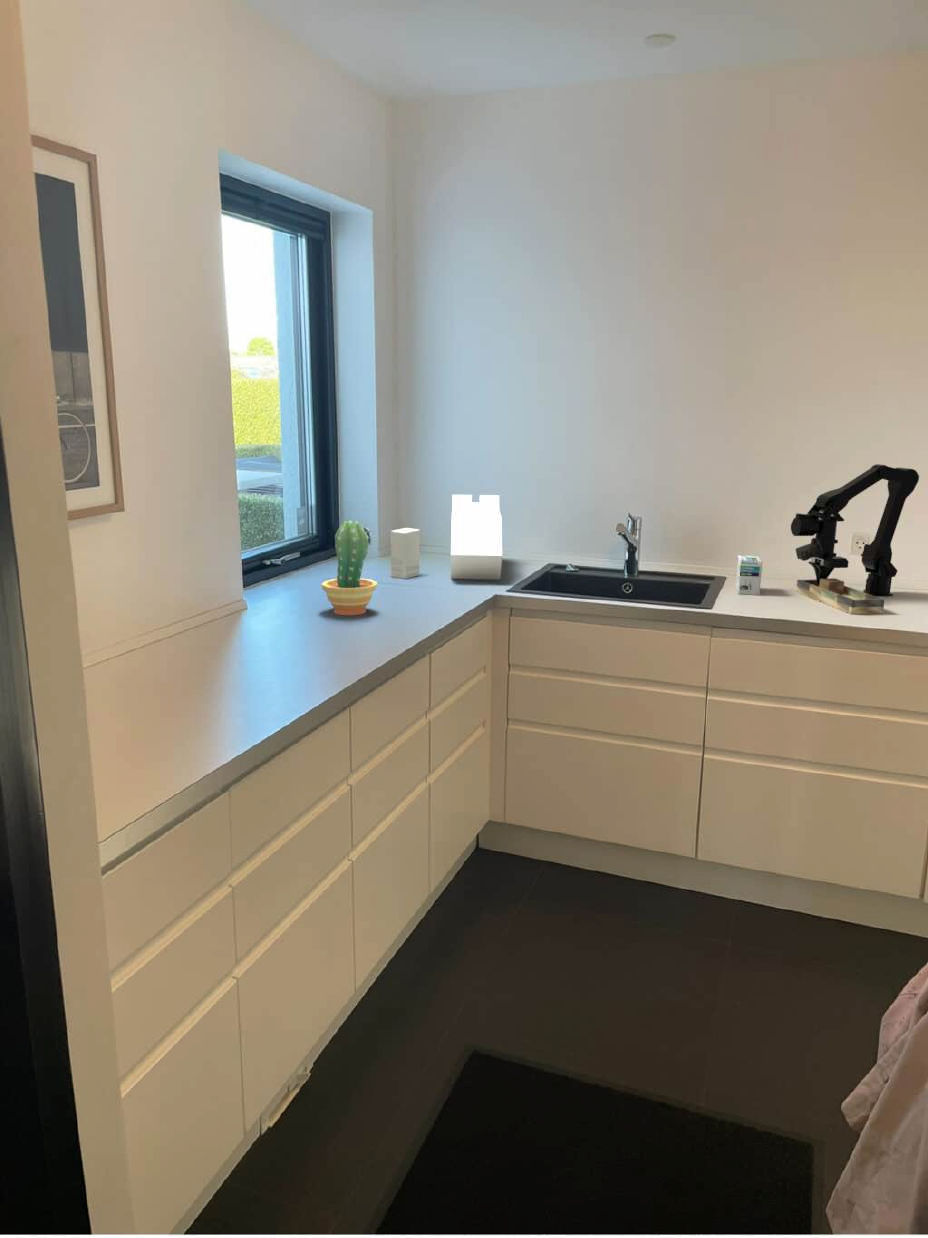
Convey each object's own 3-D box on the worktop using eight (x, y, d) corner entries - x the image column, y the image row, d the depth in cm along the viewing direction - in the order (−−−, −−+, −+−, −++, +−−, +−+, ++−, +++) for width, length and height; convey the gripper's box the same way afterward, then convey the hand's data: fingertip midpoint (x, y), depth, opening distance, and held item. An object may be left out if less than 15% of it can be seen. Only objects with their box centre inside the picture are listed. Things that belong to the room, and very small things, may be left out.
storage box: (502, 555, 292) (500, 470, 310) (450, 554, 291) (452, 469, 310) (498, 600, 314) (497, 518, 332) (450, 599, 314) (452, 517, 332)
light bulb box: (760, 595, 284) (763, 561, 282) (737, 594, 286) (740, 560, 283) (756, 588, 295) (759, 555, 292) (734, 587, 296) (737, 554, 293)
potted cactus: (383, 616, 250) (382, 524, 244) (326, 619, 246) (324, 526, 240) (372, 604, 265) (371, 517, 259) (318, 606, 260) (316, 518, 254)
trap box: (825, 591, 292) (826, 579, 291) (882, 613, 263) (884, 599, 262) (796, 592, 290) (797, 579, 289) (850, 614, 261) (852, 600, 260)
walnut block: (833, 591, 283) (835, 578, 282) (842, 594, 278) (844, 581, 277) (818, 591, 282) (820, 578, 281) (827, 595, 277) (829, 581, 276)
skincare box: (405, 573, 311) (405, 527, 307) (421, 575, 307) (421, 529, 303) (389, 577, 304) (389, 530, 301) (405, 579, 301) (405, 532, 297)
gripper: (785, 531, 289) (780, 580, 293) (817, 540, 271) (812, 592, 275) (818, 531, 291) (813, 579, 295) (852, 540, 273) (846, 591, 277)
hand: (820, 585), depth 285 cm, fingers closed
